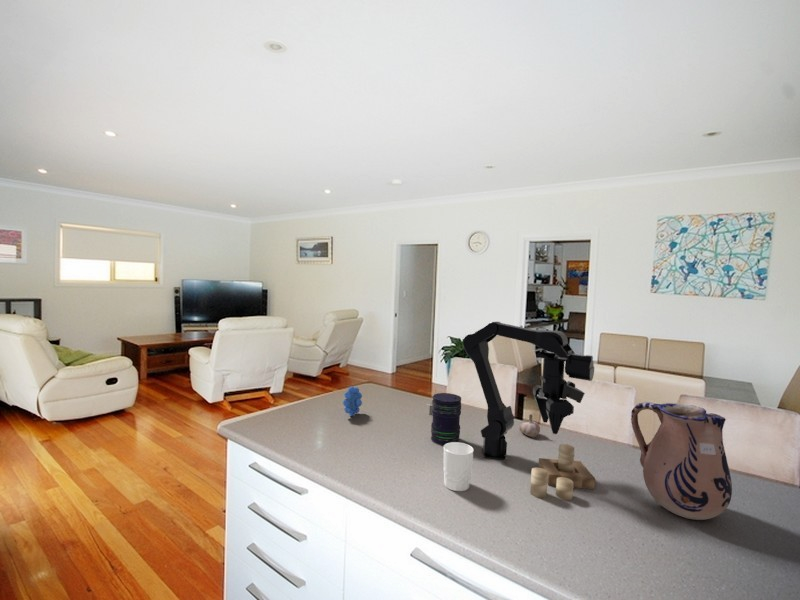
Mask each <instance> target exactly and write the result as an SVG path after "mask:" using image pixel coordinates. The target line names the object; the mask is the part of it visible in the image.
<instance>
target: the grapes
mask: <svg viewBox="0 0 800 600" xmlns="http://www.w3.org/2000/svg"><path fill="white" fill-rule="evenodd" d="M362 397H363V395H362V393H361V392H360V389H359V387H358V386H349V387H348V391H345V392H344V398H345V399H343V401H342V405H343V406H344V412H345V414H348V415H349V416H350V417H353V416H355V415H356V414H358V413H359V412H360V407H361V406H362V405H363V402H362Z"/></svg>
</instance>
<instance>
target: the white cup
mask: <svg viewBox="0 0 800 600" xmlns="http://www.w3.org/2000/svg"><path fill="white" fill-rule="evenodd" d="M474 450H475V449H474V447H472V445H469V444H467V443H464V442H460V441H459V442H451V443H447V444H445V445H444V446H443V485H444V486H445V487H446V489H449V490H451V491H455V492H465V491H467V490H468V489H470V484H471V483H470V482H471V476H472V469H473V461H474Z"/></svg>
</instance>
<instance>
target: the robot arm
mask: <svg viewBox="0 0 800 600" xmlns="http://www.w3.org/2000/svg"><path fill="white" fill-rule="evenodd" d="M497 336H498V337H499V336H500V337H504V338H508V339H513V340H517V341H522V342H525V343H528V344H532V345H534V346H536V347H538V348H539V349H542V350H541V351H540V352H538V353H537V354H536V355H535V356H536V358H540V359H543V360H542V361H543V363H542V375H540V377H539V379H540V380H541V385H535V386H534V387H533V388H532V395H533V398H534V401H535V403H536V405H537V408H538V411H539V414H540V417H541V420H542V421H543V423H545V424H546V423H547V424H548V422H549V424H550V430H551V432H552V434H553V435H558V433H559V430H560V428H561V425H562V423H563V421H564V419H565V418H566V417H568V416H571V415H574V410H575V409H574V408H575V406H574V405H573V404H572V403H571V402H570V401H569V400H568V399H571V400H573V401H574V402H577V404H578V403H579V404H581V402H582V400H583V399H584V396H585V393H586V392H584V391H582V390H581V389H578V388H577V387H576V383H574V382H572V381H570V380H566V379H564V377H565V375H567V376H568V378H571V379H577V380H584V381H589V382H592V381H593V379H594V375H595V366H594V364H595V363H594V360H593V359H594V357H593V355H590V354H588V355H587V354H586V355H583V354H576V353H575V352H574V350H573V348H572V347H571V345H570V344H569V339H568V336H567V335H566V334H565V332H563V331H561V330H547V329H545V330H541V329H539V330H538V329H532V328H527V327H521V326H517V325H512V324H507V323H502V322H501V321H491V322H489V323H488V324H487V325H485V326H484V327H482V328H480V329H478V330H477V331H475V332H474V333H470V334H467V335H465V337H463V340H462V346H463V348H464V350H465V353H466V354H467V356H468V357H469V358H470V360H471V361H472V362H473V364H474V366H475V367H474V368H475V369H476V373H477V377H478V379H479V382H480V386H481V389H482V391H483V395H484V398H485V401H486V405H487V415H486V417H487V425H486V426H485V427H483V428H481V430H480V434H481V437H482V438H483V441H482V443H483V445H482V447H481V451H482V454H483V458H485V459H495V460H506V459H507V457H506V455H507V449H508V448H507V447H508V442H507V440H506V436H505V435H507V433H508V431H510V430H511V429H512V428H513V426H514V425H515V419H516V417H515V416H514V414H513V410H512V406H511V405H508V406H507V405H506V404H505V403H504V402H503V399H502V397H501V395H500V390H499V388H498V385H497V382H496V381H497V380H496V378H495V375H494V371H493V369H492V366H491V363H490V360H489V353H490V349H489V348H490V347H489V343H490V342H491V341H492V340H493V339H495V338H496V337H497ZM567 398H568V399H567Z"/></svg>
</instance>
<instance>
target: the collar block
mask: <svg viewBox="0 0 800 600" xmlns="http://www.w3.org/2000/svg"><path fill="white" fill-rule="evenodd" d="M537 465H538V467H537V468H542V469H545V470H546V471H547V472H548V480H547V486H553V487H556V483H557V478H558V477H565V478H568V479H570V480H572V481H573V488H579V489H590V490H591V489H592V490H595V481H596V480H595V479H596V478H595V476H594V475H593V474H592V473H591V472H590V470H588V469H587V466H585V465H584V463H583V462H582V461H580V460H574V464H573V473H572V472H559V471H558V458H556V459H555V458H541V457H539V458H538V463H537Z"/></svg>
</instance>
